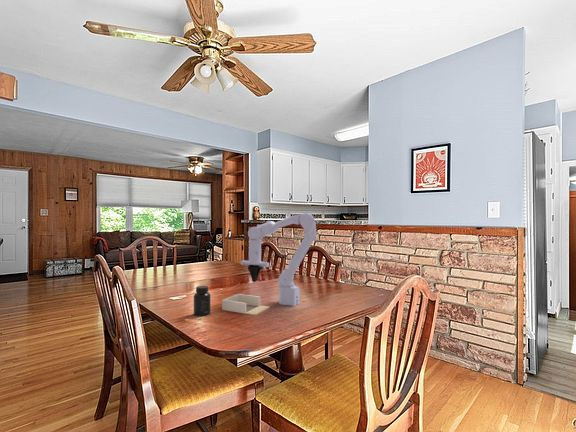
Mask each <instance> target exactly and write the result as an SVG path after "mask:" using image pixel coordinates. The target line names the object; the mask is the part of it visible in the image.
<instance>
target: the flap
mask: <svg viewBox="0 0 576 432" xmlns="http://www.w3.org/2000/svg"><path fill="white" fill-rule="evenodd" d="M268 309H270V306H269V305H267V306H266V305H261V306H260V307H258V308H256V309H254V310H252V311H250V312H248V313H246V314H247V315H251V316H257V315H259V314H260V313H262V312H264V311H266V310H268Z"/></svg>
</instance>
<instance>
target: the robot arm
mask: <svg viewBox="0 0 576 432" xmlns="http://www.w3.org/2000/svg"><path fill="white" fill-rule="evenodd" d="M316 224H317V223H316V220H315V218H314V216H313V215H312V213H308V212H304V213H301V214H295V215H291V216H289V217H287V218H284V219H281V220H278V221H276V222H275V221H272V220H267V221H265V222H264V223H262V224H256V226H252V227H250V229H248V231H247V236H248V238H249V239H248V240H249V241H248V260H245V259H243V260H241V261H240V265H241V266H247V270H248V272H249V273H250V274H249V275H250V277H251V281H252V282H254V283H255V282H258V279H259V274H260V272H261V270H262V269H263V268H269V267H270V262H265V261H262V238H264V237H266V236H269V235H273V234H275V233H277V230H278V229H281V228H283V227H286V226H290V225H301V227H302V228H303V230H304V234H305V235H304V237H303V239H302V240H301V242H300V244H299V246H298V247H297V249H296V251H295V252H294V254H293V256H292V258H291V260H290V261H289V262H288V264H287V267H286V268H285V269H283V270H282V271H281V273H280V274H279V276H278V279H277V280H278V304H279V305H282V306H292V307H295V306H297V305H298V304H300V303H301V299H300V298H301V296H300V295H301V290H300V287H299V286H296V285H295V283H294V278H295V273H296V271H297V269H298V268H299V266H300V265H301V263H302V261H303V260H304V258H305V256H306V255H307V253H308V251H309V249H310V247H311V246H312V244H313V243H314V241H315V240H316V238H317V226H316Z"/></svg>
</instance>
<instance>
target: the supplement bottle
mask: <svg viewBox="0 0 576 432" xmlns="http://www.w3.org/2000/svg"><path fill="white" fill-rule="evenodd" d="M211 311H212V310H211V293H210V292H209V286H208V285H199V286H198V285H197V286H196V287H195V293H194V294H193V316H194V317H206V316H208V315H210V314H211V313H212V312H211Z"/></svg>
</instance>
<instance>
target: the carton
mask: <svg viewBox="0 0 576 432" xmlns="http://www.w3.org/2000/svg"><path fill="white" fill-rule="evenodd" d="M261 299H262V298H261V296H259V295H258V296H257V295H250V294H243V293H237V294H234V295H231V296H229V297H227V298H223V299H222V300H221V310H222V311H225V312H226V311H227V312H234V313H237V314H247V313H248V312H250V311H252V310H254V309H256V308H258V307H260V306H262V305H261Z"/></svg>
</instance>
